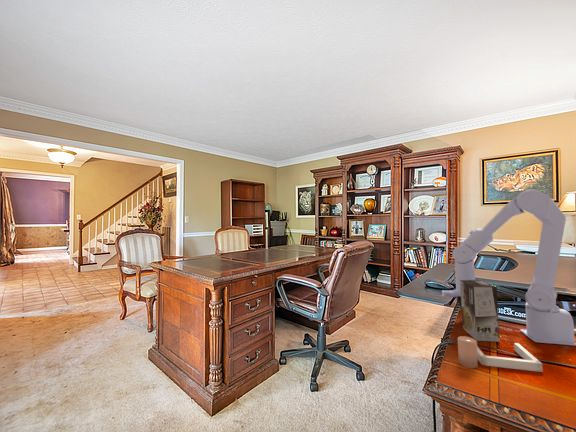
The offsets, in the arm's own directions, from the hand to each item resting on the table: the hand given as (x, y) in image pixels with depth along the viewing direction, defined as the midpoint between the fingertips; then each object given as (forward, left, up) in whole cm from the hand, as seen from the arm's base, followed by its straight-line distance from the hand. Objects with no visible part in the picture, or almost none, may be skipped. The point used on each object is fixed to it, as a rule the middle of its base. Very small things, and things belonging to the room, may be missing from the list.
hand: (467, 318), depth 90 cm
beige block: (+9, +30, -1) cm, 31 cm away
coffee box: (0, +11, -1) cm, 11 cm away
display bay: (0, +25, -1) cm, 25 cm away
